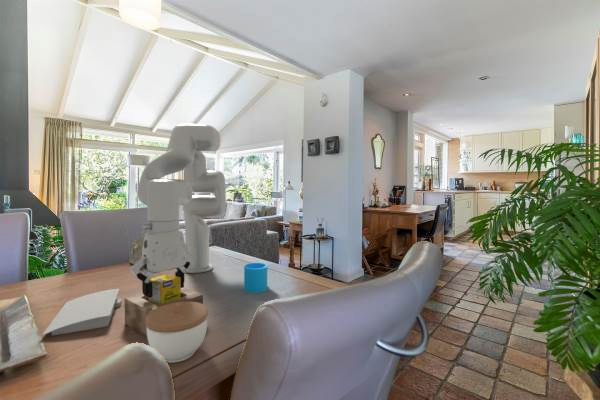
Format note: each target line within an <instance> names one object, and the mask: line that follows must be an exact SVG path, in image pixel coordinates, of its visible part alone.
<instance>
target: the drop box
mask: <svg viewBox="0 0 600 400" xmlns="http://www.w3.org/2000/svg"><path fill="white" fill-rule="evenodd" d="M187 301H188V302H198V303H201V304H204V294H203V293H200V292H198V291H195V290H192V289H190V288H187V287H185V286H184V287H183V288H181V298H178V299H175V300H172V301H169V302H166V303H163V304H160V305H158V306H157V305H155V304H153V303H151V302H149V301H148V297H146V296H144V294H143V292H141V293H137V294H132V295H131V296H127V297H124V325H126V326H128V327H129V328H131V329H133V330H134V331H136V333H139V334H141V335H142V336H143V337H145V338H147V332H146V322H145V319H146V316H147V315H148V314H149V313H150V312H151V311H152V310H154V309H156V308H158V307H161V306H163V305H167V304H170V303H176V302H187Z"/></svg>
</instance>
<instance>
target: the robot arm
mask: <svg viewBox="0 0 600 400" xmlns="http://www.w3.org/2000/svg"><path fill="white" fill-rule="evenodd" d="M220 146H221V136H220V133H219V131H218V130H217V129H216V128H215V127H214V126H212V125H209V124H199V123H180V124H177V125H175V126H174V128H172V132H171V133H170V138H169V140H168V145H167V146H166V151H165V152H164V153H163V154H161V155H159V156H158V157H156V158H155V159H152V160H151V161H150V162H149V163H148V164H147V165H146V166H145V167H144V168H143V171H142V174H141V176H140V178H139V182H138V185H137V197H138V200H139V202H141V204H143V205H146V206H147V207H146V208H147V209H146V210H147V221H146V223H145V224H142V230H146V231H147V232H145V233H144V234H145V238H144V243H143V251H142V258H141V259H140V260H139V261H138V262H137V263H135V264H132V266H131V267H129V271H130V272H131V273H132V274H133V276H134V277H135V278H137V279H139V280H140V281H141V282H142V284H141V285H142V286H141V288H142V290H141V291H142V292H141V293H143V294H144V296H146V297H148V298H151V297H152V296H153V287H152V282H150V280H151V278H154V277H153V276H154V275H155V274H158V273H159V274H160V273H163V272H167V271H172V270H176V271H175V273H174V276H177V277H181V288H183V287H185V274H186V273H187V274H199V273H200V274H201V273H205V272H208V271H211V270H213V267H214V265H213V264H212V263H211V262H210V229H209V225H208V223H206V221H205V220H204V219H220V218H223V217H224V216H225V215H226V212H227V198H226V197H227V194H226V193H227V192H226V177H225V175H224V173H223V172H221V171H219V170H208V169H207V159H206V156H205V154H204V153H203V152H218V150H219V149H220ZM181 171H182V172H183V171H184V179H180V178H179V179H176V178H172V179H171V178H163V177H166V176H168V175H172V174H175V173H179V172H181ZM194 194H213V195H194ZM180 206H182V211H183V215H184V217H183V218H184V225H185V226H184V227H185V228H184V229H185V230H184V232H185V233H184V232H183V230H181V229H180ZM184 234H185V237H184ZM141 268H142V270H144V271H143V273H142V272H141V271H140V269H141Z"/></svg>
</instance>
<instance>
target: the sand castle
mask: <svg viewBox="0 0 600 400" xmlns="http://www.w3.org/2000/svg"><path fill="white" fill-rule="evenodd" d="M145 234H146V233H145V231H141V234H140V236H137V239H136V240H134V242H133V243H131V246H130V251H131V252H130V253H131V256H130V257H129V261H128V263H129V264H132V265H134V264H135V263H137V262H138V261H139V260H140V259H141V258H142V251H143V243H144V238H145Z"/></svg>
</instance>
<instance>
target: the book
mask: <svg viewBox="0 0 600 400" xmlns="http://www.w3.org/2000/svg"><path fill="white" fill-rule="evenodd" d="M119 292H120V288H113V289H107V290H101V291H97V292H94V293H90V294H86V295H82V296H78V297H76V298H74V299H71V300H69V301H66V302H65V304H64V305H63V306H62V307H61V309H60V310H59V311H58V313H57V314H56V315H55V317H54V318H53V319H52V320H51V322H50V323H49V325H48V326H47V327H46V329H45V330H44V332H43V333H42V334H41V336H42V337H43V336H45V335H47V334H50V333H51V336H57V335H65V334H71V333H77V332H81V331H87V330H93V329H98V328H106V327H109V325H110V322H111V320H112V316H113V313H114V310H115V308H120V307H121V305H122V298H118V299H117V297H118V295H119Z"/></svg>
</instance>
